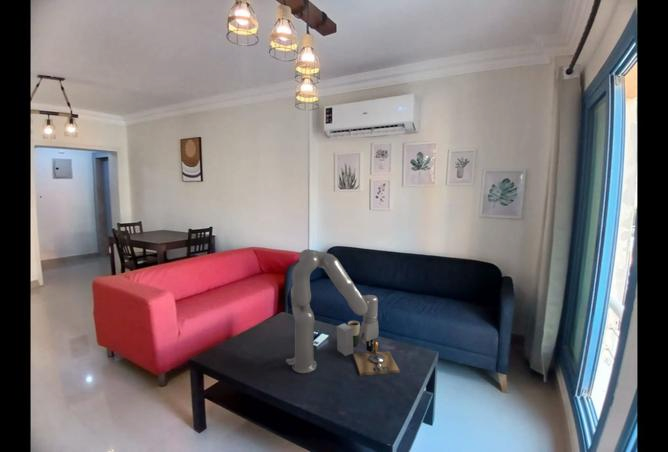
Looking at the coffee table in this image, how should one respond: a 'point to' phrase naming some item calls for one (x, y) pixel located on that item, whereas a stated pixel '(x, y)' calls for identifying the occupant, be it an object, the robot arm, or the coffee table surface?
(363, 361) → the stand
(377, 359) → the cam capstan
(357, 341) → the character mug
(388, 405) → the coffee table surface
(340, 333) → the skincare box
